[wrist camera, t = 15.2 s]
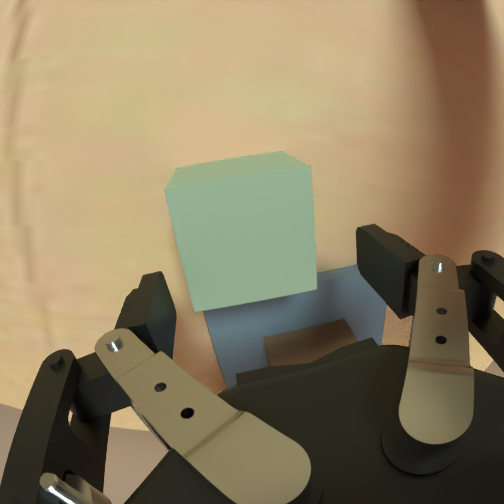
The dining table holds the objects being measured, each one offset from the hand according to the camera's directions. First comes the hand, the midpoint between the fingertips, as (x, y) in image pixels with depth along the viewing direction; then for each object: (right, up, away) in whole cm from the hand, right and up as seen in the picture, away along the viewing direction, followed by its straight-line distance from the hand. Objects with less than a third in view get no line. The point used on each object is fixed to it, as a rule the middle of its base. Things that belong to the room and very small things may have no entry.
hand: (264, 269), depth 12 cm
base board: (+3, -6, +9) cm, 12 cm away
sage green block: (-1, +3, +5) cm, 6 cm away
